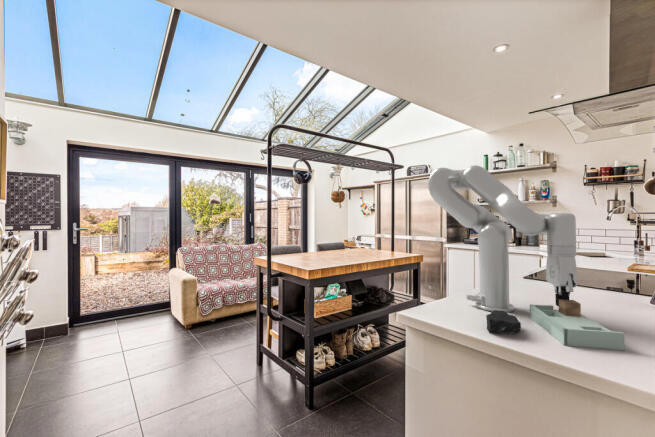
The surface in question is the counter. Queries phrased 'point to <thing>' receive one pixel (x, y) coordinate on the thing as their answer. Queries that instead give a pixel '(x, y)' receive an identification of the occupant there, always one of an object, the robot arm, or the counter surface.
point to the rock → (502, 322)
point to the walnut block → (569, 308)
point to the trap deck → (576, 329)
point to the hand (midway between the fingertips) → (562, 306)
